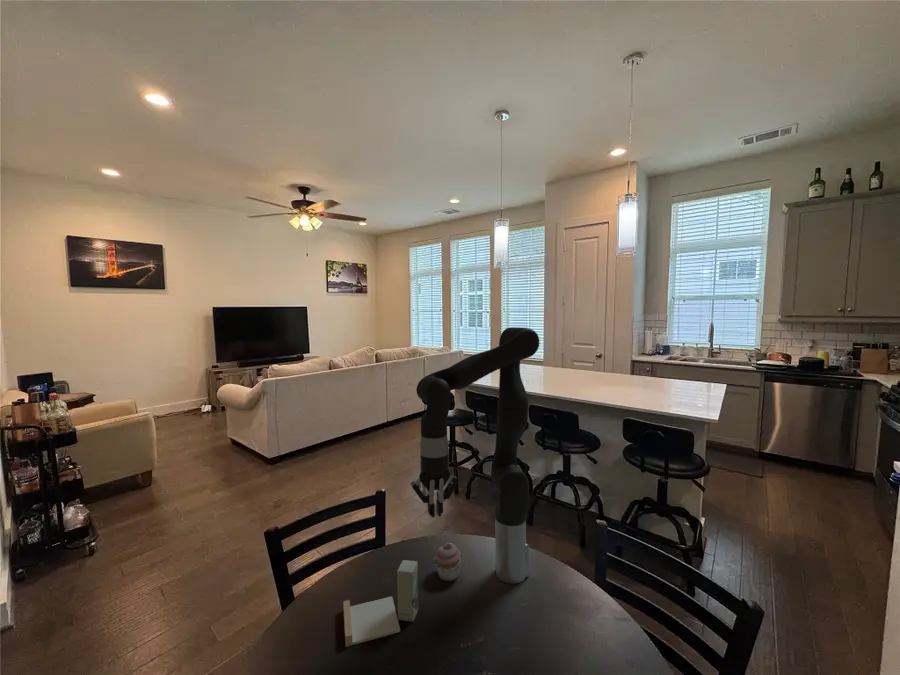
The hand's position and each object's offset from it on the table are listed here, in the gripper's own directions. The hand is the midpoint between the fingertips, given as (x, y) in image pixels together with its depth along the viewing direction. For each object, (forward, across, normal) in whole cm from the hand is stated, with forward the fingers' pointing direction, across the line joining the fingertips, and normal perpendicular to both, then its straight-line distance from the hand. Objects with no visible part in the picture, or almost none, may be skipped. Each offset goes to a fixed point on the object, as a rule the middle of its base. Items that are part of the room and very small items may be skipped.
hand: (435, 515), depth 99 cm
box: (+25, +8, 0) cm, 26 cm away
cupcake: (+25, -7, -11) cm, 28 cm away
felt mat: (+25, +17, -1) cm, 30 cm away
